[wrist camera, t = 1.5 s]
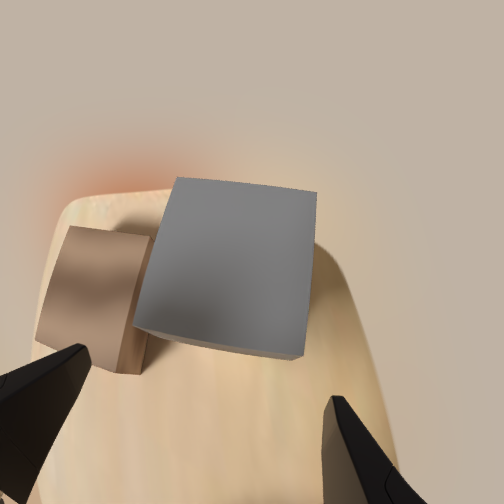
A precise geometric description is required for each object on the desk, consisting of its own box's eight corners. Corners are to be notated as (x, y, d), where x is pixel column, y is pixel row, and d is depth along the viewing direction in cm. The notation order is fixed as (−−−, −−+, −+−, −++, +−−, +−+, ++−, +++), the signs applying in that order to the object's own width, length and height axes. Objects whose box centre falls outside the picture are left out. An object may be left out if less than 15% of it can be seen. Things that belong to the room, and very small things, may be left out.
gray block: (291, 360, 15) (303, 355, 11) (159, 337, 15) (132, 325, 12) (305, 229, 18) (316, 192, 14) (190, 215, 18) (176, 176, 15)
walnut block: (140, 374, 20) (115, 373, 16) (65, 348, 21) (34, 340, 17) (166, 260, 24) (149, 236, 20) (93, 248, 25) (70, 225, 21)
